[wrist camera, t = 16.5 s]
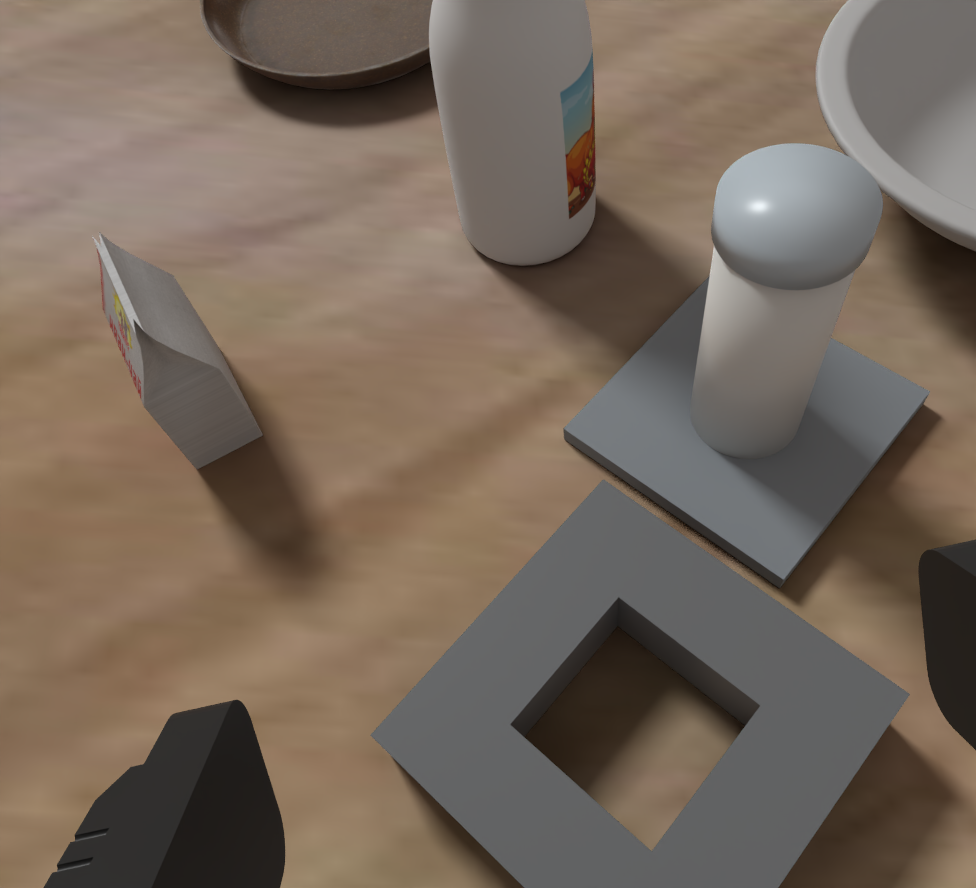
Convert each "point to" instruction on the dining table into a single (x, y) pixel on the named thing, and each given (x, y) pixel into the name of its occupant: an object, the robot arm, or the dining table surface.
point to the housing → (686, 649)
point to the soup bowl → (907, 104)
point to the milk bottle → (517, 122)
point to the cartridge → (776, 290)
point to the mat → (733, 481)
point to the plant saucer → (322, 38)
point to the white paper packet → (173, 358)
